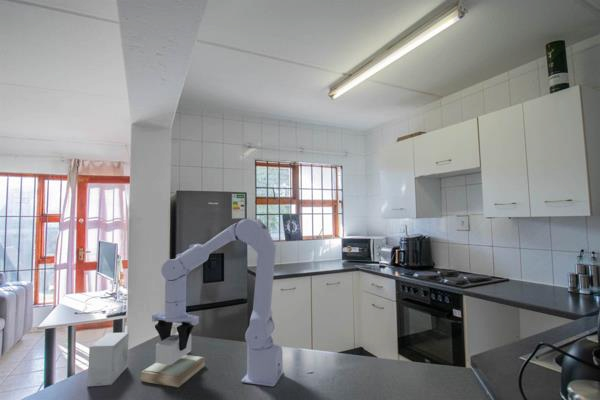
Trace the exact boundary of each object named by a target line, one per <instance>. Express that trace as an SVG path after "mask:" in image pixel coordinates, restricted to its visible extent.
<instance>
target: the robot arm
mask: <svg viewBox="0 0 600 400" xmlns="http://www.w3.org/2000/svg"><path fill="white" fill-rule="evenodd" d="M239 240H240V241H241V242H243V243H244V244H247V245H249V246H250V247H251V248H252V249H253V250H254V251H255V252H256V254H257V259H256V271H255V280H254V281H255V283H254V294H253V304H252V305H253V306H252V308H253V309H252V312H251V315H250V318H249V325H248V327H247V330H246V332H245V333H244V339H245V343H246V344H247V348H246V349H247V353H246V355H247V357H246V358H247V359H246V360H247V362H246V363H247V366H246V368H247V371H246V372H247V373H246V375H244V376H243V378H242V379H241V381H240V382H242V383H244V384H245V383H246V384H253V385H259V386H260V385H261V386H265V387H267V386H268V387H275V386H276V384H277V383H278V382H279V380H280V378H282V377H281V376H282V375H283V374H284V370H283V368H284V366H283V348H282V346H281V345H277V344H275V343H274V340H273V338H272V334H273V332H274V330H275V322H274V320H273V311H272V299H273V286H274V274H275V273H274V272H275V261H276V244H275V242H274V240H273V238H272V236H271V233H270V232H269V230H268V227H267V225H266V224H265V223H263V221H261V220H259V219H258V218H257V219H256V218H251V219H250V218H244V219H241V220H239V222H236V223H234V224H232V225H230V226H228V227H227V228H225V229H224V230H223V231H221V232H219V233H218V234H217V235H215V236H214V237H212V238H211V239H209V240H208V241H206V242H205V243H204V244H200V243H193V244H190V245H189V246H188V249H187V250H185V251H183V252H182V253H178V254H176V255H175V258H172V259H167V260H166V261H165V262H164V263H163V264H162V266H161V271H160V272H161V274H162V277H163V278H164V282H165V283H164V312H156V313H153V314H152V315H151V321H152V323H153V322H157V323H156V324H155V325H154V328H155V330H156V332H157V333H158V335H159V339H160V342H161V341H163V340H164V339H166V338H168V337H170V336H171V329H172V325H173V323H182V325H180V326H178V327H177V331H178V335H179V349H180V351H182V350H184V349H185V348H186V346H187V342H188V338H189V335H190V334H192V333H191V332H192V331H193V329H194V326H196V325H198V324H200V316H198V315H193V314H189V313H187V312H186V311H187V276H188V275H189V273H190V272H191V271H193V270H194V269H196V268H197V267H199V266H201V265H202V264H204V263H205V262H207V261H208V260H209V257H210V254H212V253H213V252H215V251H216V250H218V249H220V248H221V247H223V246H225V245H226V244H228V243H230V242H232V241H239Z"/></svg>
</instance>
